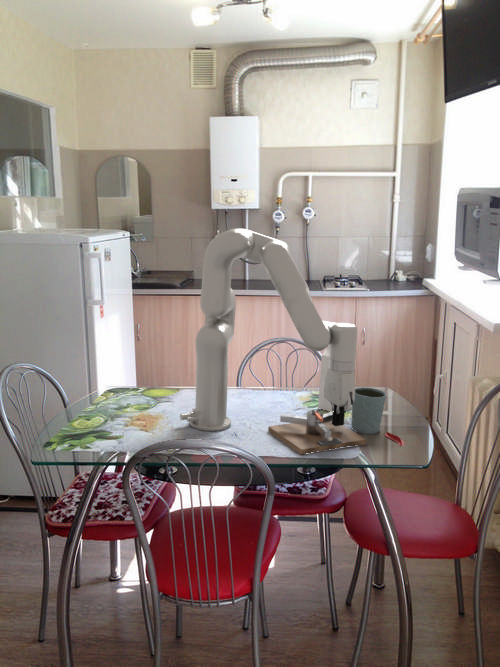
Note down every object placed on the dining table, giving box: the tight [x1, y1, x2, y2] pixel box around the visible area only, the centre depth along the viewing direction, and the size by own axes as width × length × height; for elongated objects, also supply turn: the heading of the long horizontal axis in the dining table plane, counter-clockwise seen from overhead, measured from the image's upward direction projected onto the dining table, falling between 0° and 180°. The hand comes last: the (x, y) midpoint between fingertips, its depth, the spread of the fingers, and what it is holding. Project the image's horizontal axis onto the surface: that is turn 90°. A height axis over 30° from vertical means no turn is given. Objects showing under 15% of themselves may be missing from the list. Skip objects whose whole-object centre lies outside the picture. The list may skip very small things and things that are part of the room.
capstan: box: [279, 409, 333, 438], centre depth 175 cm, size 16×18×6 cm
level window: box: [317, 438, 342, 446], centre depth 167 cm, size 7×2×1 cm, turn 116°
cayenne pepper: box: [383, 431, 405, 448], centre depth 176 cm, size 12×5×2 cm, turn 178°
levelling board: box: [267, 421, 368, 456], centre depth 175 cm, size 22×19×2 cm
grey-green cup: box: [351, 387, 387, 435], centre depth 183 cm, size 10×10×12 cm
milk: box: [317, 345, 332, 412], centre depth 200 cm, size 6×6×22 cm
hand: (337, 424), depth 177 cm, fingers closed
